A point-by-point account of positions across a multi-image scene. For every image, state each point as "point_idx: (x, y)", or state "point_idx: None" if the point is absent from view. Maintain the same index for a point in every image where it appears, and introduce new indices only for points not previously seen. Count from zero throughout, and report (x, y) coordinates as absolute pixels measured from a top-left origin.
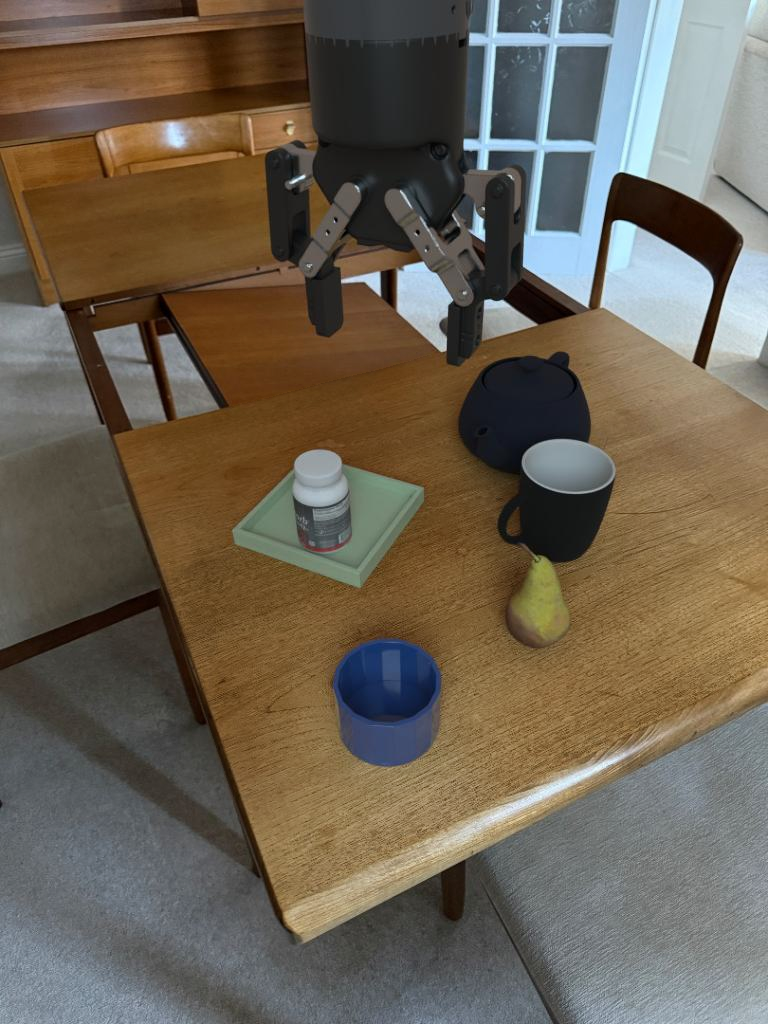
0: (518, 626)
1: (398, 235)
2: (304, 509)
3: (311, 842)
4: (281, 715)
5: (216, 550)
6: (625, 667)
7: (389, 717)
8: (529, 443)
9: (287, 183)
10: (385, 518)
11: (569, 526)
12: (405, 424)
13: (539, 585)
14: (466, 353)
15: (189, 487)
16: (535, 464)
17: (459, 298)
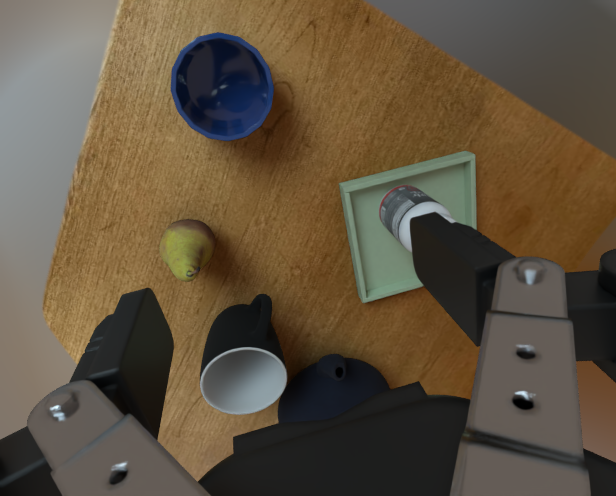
0: (188, 224)
1: (272, 472)
2: (422, 199)
3: None
4: (299, 27)
5: (475, 134)
6: (115, 256)
7: (223, 87)
8: (309, 390)
9: None
10: (371, 258)
11: (216, 333)
12: (429, 354)
13: (179, 257)
14: (110, 320)
15: (548, 176)
16: (280, 370)
17: (66, 392)
